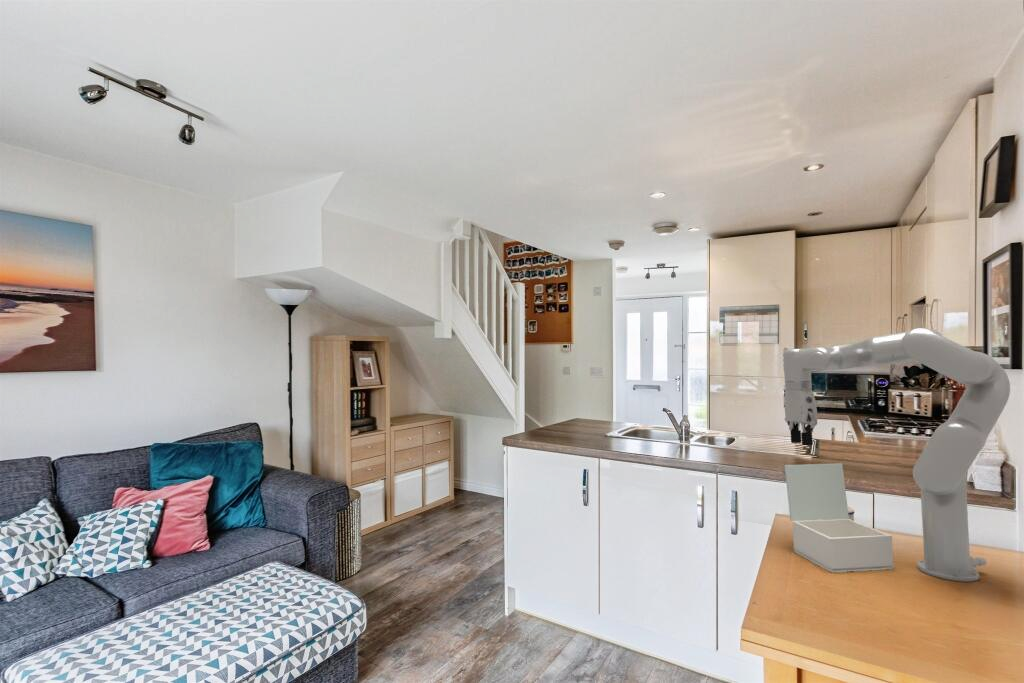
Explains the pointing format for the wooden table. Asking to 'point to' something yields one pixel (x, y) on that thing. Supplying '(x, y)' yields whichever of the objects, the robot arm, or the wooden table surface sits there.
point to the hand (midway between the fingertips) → (801, 443)
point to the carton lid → (816, 491)
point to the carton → (843, 545)
